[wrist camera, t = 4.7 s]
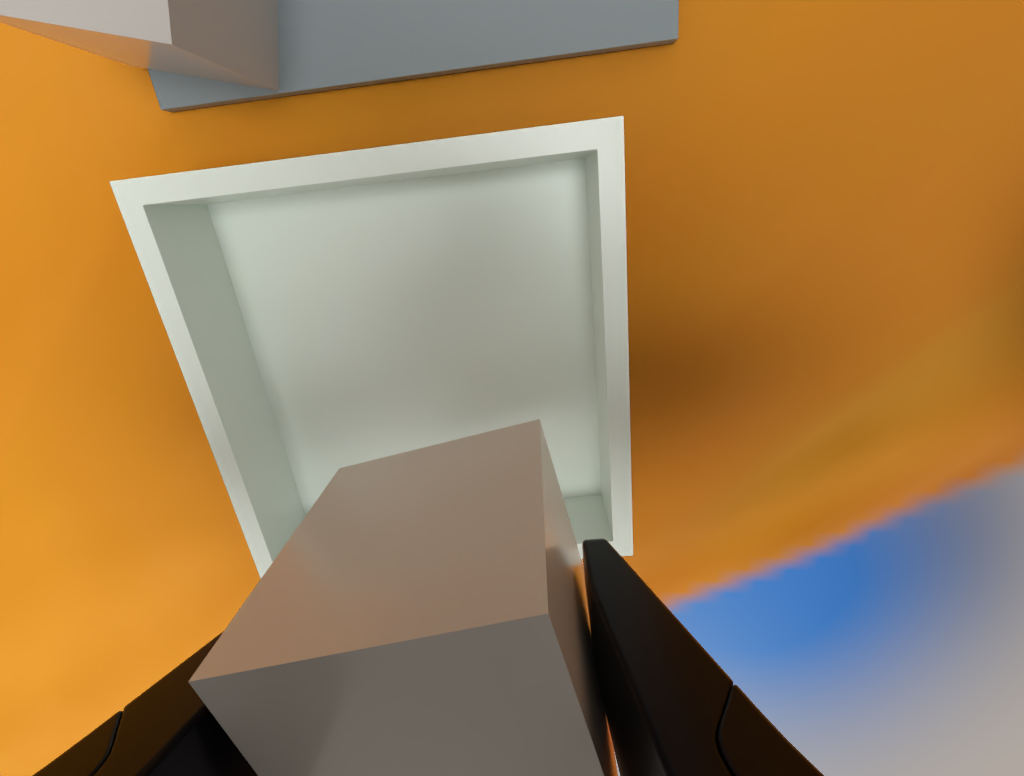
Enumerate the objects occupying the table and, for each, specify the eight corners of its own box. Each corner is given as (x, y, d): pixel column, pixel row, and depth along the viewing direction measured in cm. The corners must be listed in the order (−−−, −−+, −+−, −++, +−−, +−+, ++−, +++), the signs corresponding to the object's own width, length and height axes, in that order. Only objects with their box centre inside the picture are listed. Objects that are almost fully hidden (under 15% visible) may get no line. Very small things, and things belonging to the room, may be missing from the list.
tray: (604, 132, 13) (623, 115, 11) (616, 499, 18) (633, 555, 15) (191, 184, 14) (109, 181, 11) (301, 522, 19) (261, 579, 16)
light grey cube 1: (540, 419, 9) (548, 613, 5) (588, 584, 10) (629, 847, 6) (339, 468, 9) (188, 682, 5) (411, 619, 11) (338, 883, 7)
